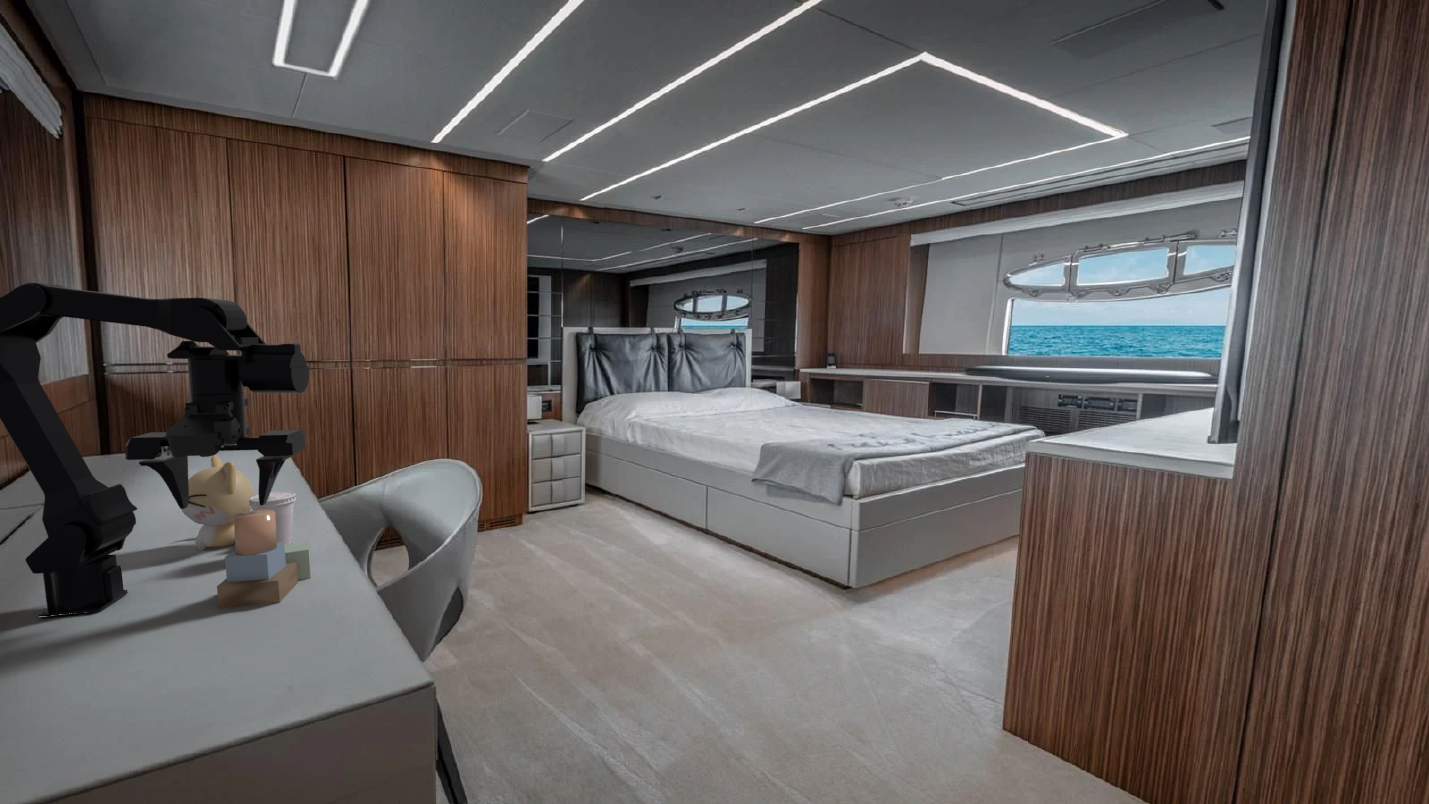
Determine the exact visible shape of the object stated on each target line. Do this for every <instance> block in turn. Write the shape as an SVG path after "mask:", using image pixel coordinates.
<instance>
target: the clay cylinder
mask: <svg viewBox="0 0 1429 804" xmlns="http://www.w3.org/2000/svg"><path fill="white" fill-rule="evenodd" d="M233 520H234V534H235V543H234V546H235V550H236V554H238V555H256V554H261V553H265V552H269V551H272V550H274V549H276V548H277V537H276V522H275V511H274V510H254V511H253V510H250V511H247V512H243V513H239V514H236V515H234V516H233Z"/></svg>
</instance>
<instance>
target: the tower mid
mask: <svg viewBox="0 0 1429 804" xmlns="http://www.w3.org/2000/svg"><path fill="white" fill-rule="evenodd" d="M224 563H225V573H226V578H227V582H237V581H252V580H267V579H270V578H271V577H273V576H274V575H275V574H276V573H278V572H279V571H280V570H282V569H283V568H284V567H285V566H286V559H285V546H284V542H282V543H277V548H276V549H274V550H272V551H269V552H265V553H261V554H256V555H238V554H236V549H235V550H233V551H232V552H230V553H228V554H227V555H225V556H224Z"/></svg>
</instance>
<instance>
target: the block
mask: <svg viewBox="0 0 1429 804" xmlns="http://www.w3.org/2000/svg"><path fill="white" fill-rule="evenodd" d="M284 546H285V559H286V563H296V565H297V578H298V581H303V580H308V579H311V578H312V577H311V576H312V561H311V560H312V559H311V549H310V548H311V547H310V546H311V545H310V540H307V541H301V542H293V543H292V542H291V544H285V545H284Z"/></svg>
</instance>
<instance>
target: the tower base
mask: <svg viewBox="0 0 1429 804" xmlns="http://www.w3.org/2000/svg"><path fill="white" fill-rule="evenodd" d="M297 584H299V580H298V578H297V565H296V563H286V566H285V567H284V568H283V569H282V570H280V571H279V572H278V573H276V574H275V575H274V576H273V577H271V578H270V579H267V580H252V581H237V582H227V577H226V578H225V579H224V580H223V581H221V583H219V584H218V585H216V589H217V590H216V591H217V592H216V593H217V603H218V610H223V609H231V608H243V607H253V606H263V605H270V604H280V603H282V601H283V600H284V599H285V597H286V596H287V595H288V594H289V593H290V592H291V591H292V590H293V589H294V588H295V587H296V586H297Z"/></svg>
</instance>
